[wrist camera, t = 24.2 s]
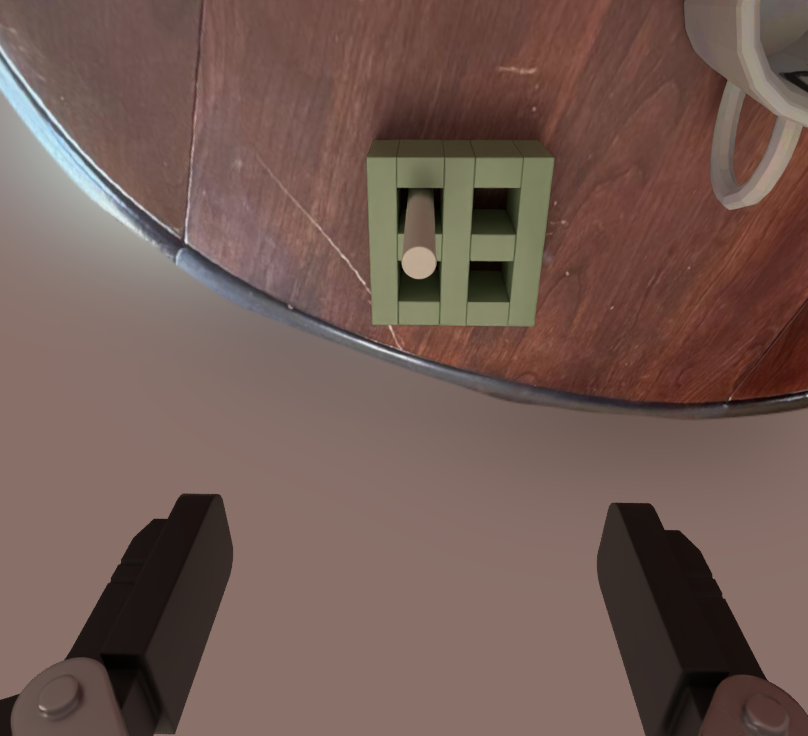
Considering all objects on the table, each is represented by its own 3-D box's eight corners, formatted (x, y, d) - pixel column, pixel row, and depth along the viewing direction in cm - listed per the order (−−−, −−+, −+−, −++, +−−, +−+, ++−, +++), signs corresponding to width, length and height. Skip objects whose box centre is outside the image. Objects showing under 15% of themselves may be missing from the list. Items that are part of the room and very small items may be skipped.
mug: (912, -114, 28) (1123, -169, 20) (763, 194, 36) (869, 251, 27) (704, -161, 28) (830, -239, 19) (598, 163, 35) (653, 211, 27)
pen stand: (377, 291, 40) (371, 325, 36) (373, 139, 35) (366, 156, 31) (522, 293, 40) (534, 326, 36) (539, 139, 35) (555, 157, 30)
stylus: (408, 199, 37) (401, 279, 26) (408, 174, 36) (401, 246, 25) (432, 199, 37) (436, 279, 26) (433, 174, 36) (437, 246, 25)
